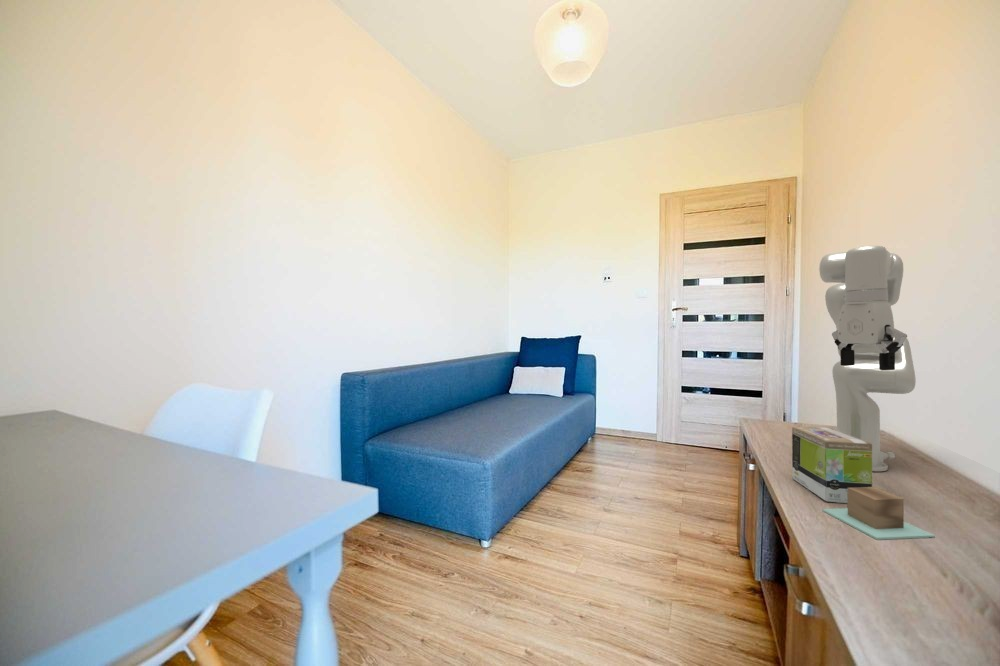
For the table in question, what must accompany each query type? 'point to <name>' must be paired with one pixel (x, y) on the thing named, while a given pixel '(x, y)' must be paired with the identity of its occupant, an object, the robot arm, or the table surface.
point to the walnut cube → (875, 507)
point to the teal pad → (878, 534)
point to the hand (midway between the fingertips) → (866, 367)
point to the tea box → (830, 462)
